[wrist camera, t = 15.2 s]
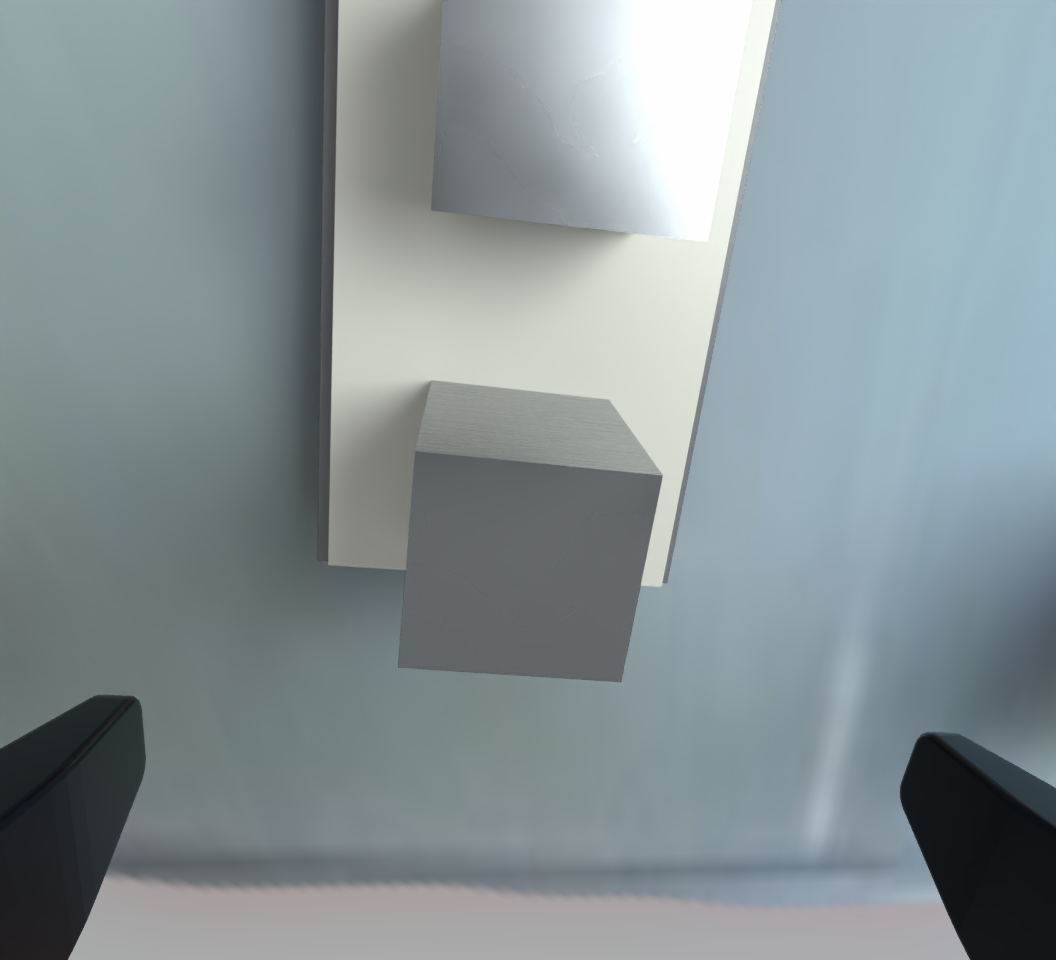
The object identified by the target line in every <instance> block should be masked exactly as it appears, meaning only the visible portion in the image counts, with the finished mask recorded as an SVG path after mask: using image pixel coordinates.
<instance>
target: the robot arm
mask: <svg viewBox="0 0 1056 960" xmlns="http://www.w3.org/2000/svg"><path fill="white" fill-rule="evenodd" d="M145 762H146V755H145V743H144V731H143V719H142V709H141V705H140V702H139V700H138V699H136V698H135V697H134V696H122V695H97V696H94V697H92V698H90V699H88V700H86V701H84V702H83V703H81V704H79V705H77V706H75V707H74V708H72V709H70V710H68V711H67V712H65V713H63V714H61V715H59V716H58V717H56V718H54V719H52V720H51V721H49V722H47V723H45V724H43V725H42V726H40V727H38V728H36V729H35V730H33V731H31V732H29V733H28V734H26V735H24V736H22V737H20V738H19V739H17V740H15V741H13V742H12V743H10V744H8V745H6V746H4V747H3V748H1V749H0V960H68V958H69V956H70V954H71V952H72V950H73V948H74V946H75V944H76V942H77V940H78V938H79V936H80V934H81V932H82V930H83V928H84V926H85V923H86V921H87V919H88V916H89V914H90V912H91V909H92V907H93V904H94V902H95V900H96V897H97V894H98V892H99V889H100V887H101V884H102V882H103V879H104V877H105V874H106V871H107V869H108V866H109V864H110V861H111V859H112V856H113V853H114V851H115V848H116V846H117V843H118V841H119V838H120V835H121V833H122V830H123V828H124V825H125V823H126V820H127V817H128V815H129V812H130V810H131V807H132V805H133V802H134V799H135V797H136V794H137V792H138V789H139V787H140V784H141V781H142V778H143V774H144V770H145ZM900 798H901V803H902V807H903V810H904V812H905V814H906V817H907V819H908V821H909V824H910V826H911V828H912V831H913V833H914V835H915V838H916V840H917V842H918V845H919V847H920V849H921V852H922V854H923V856H924V859H925V861H926V864H927V866H928V868H929V871H930V873H931V875H932V878H933V880H934V882H935V885H936V887H937V889H938V892H939V894H940V896H941V899H942V901H943V903H944V906H945V908H946V910H947V913H948V915H949V917H950V919H951V922H952V924H953V926H954V928H955V930H956V932H957V935H958V937H959V939H960V941H961V943H962V945H963V947H964V949H965V951H966V952H967V955H968V957H969V958H970V960H1056V788H1055V787H1053V786H1051V785H1049V784H1048V783H1046V782H1044V781H1042V780H1040V779H1039V778H1037V777H1035V776H1033V775H1032V774H1030V773H1028V772H1026V771H1024V770H1023V769H1021V768H1019V767H1017V766H1015V765H1014V764H1012V763H1010V762H1008V761H1007V760H1005V759H1003V758H1001V757H999V756H998V755H996V754H994V753H992V752H990V751H989V750H987V749H985V748H983V747H982V746H980V745H978V744H976V743H974V742H973V741H971V740H969V739H967V738H965V737H964V736H962V735H959V734H955V733H942V732H926V733H923V734H922V735H921V736H920V737H919V738H918V739H917V741H916V743H915V746H914V749H913V751H912V754H911V757H910V760H909V762H908V765H907V768H906V771H905V774H904V776H903V779H902V782H901V786H900Z"/></svg>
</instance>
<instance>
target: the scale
mask: <svg viewBox="0 0 1056 960" xmlns="http://www.w3.org/2000/svg"><path fill="white" fill-rule="evenodd" d="M781 3H782V0H752V1H751V6H750V12H749V17H748V23H747V28H746V34H745V39H744V45H743V50H742V56H741V61H740V67H739V72H738V77H737V83H736V88H735V94H734V99H733V105H732V110H731V116H730V121H729V127H728V132H727V138H726V143H725V149H724V154H723V160H722V165H721V170H720V176H719V181H718V187H717V192H716V198H715V203H714V209H713V214H712V220H711V225H710V231H709V236H708V242H704V241H695V240H686V239H677V238H669V237H660V236H651V235H642V234H633V233H625V232H616V231H607V230H598V229H590V228H581V227H572V226H563V225H554V224H546V223H537V222H528V221H519V220H510V219H502V218H493V217H484V216H475V215H466V214H458V213H449V212H440V211H431V200H432V183H433V166H434V149H435V132H436V114H437V97H438V80H439V63H440V46H441V29H442V12H443V0H325V36H324V111H323V187H322V262H321V338H320V413H319V489H318V560H320V561H328V565H331V566H346V567H361V568H377V569H392V570H406V559H407V546H408V534H409V521H410V508H411V496H412V483H413V471H414V458H415V449H416V445H417V441H418V436H419V432H420V428H421V424H422V419H423V415H424V411H425V406H426V402H427V398H428V394H429V389H430V385H431V381H432V380H434V381H444V382H453V383H462V384H471V385H480V386H489V387H498V388H508V389H517V390H526V391H535V392H544V393H553V394H562V395H572V396H581V397H590V398H599V399H608V400H610V402H611V403H612V404H613V406H614V407H615V409H616V410H617V411H618V413H619V414H620V416H621V417H622V418H623V420H624V421H625V423H626V424H627V425H628V427H629V428H630V430H631V431H632V432H633V434H634V435H635V437H636V438H637V440H638V441H639V442H640V444H641V445H642V447H643V448H644V449H645V451H646V452H647V454H648V455H649V456H650V458H651V459H652V461H653V462H654V463H655V465H656V466H657V468H658V469H659V470H660V472H661V473H662V475H663V478H662V483H661V488H660V493H659V498H658V503H657V508H656V513H655V518H654V523H653V527H652V532H651V537H650V542H649V547H648V552H647V557H646V562H645V567H644V572H643V577H642V582H641V586H654V587H662V583H667V581H668V576H669V571H670V566H671V561H672V556H673V551H674V545H675V540H676V535H677V530H678V525H679V520H680V515H681V510H682V505H683V500H684V495H685V490H686V485H687V480H688V475H689V469H690V464H691V459H692V454H693V449H694V444H695V439H696V434H697V429H698V424H699V419H700V414H701V409H702V404H703V398H704V393H705V388H706V383H707V378H708V373H709V368H710V363H711V358H712V353H713V348H714V343H715V338H716V333H717V328H718V322H719V317H720V312H721V307H722V302H723V297H724V292H725V287H726V282H727V277H728V272H729V267H730V262H731V257H732V252H733V246H734V241H735V236H736V231H737V226H738V221H739V216H740V211H741V206H742V201H743V196H744V191H745V186H746V181H747V176H748V170H749V165H750V160H751V155H752V150H753V145H754V140H755V135H756V130H757V125H758V120H759V115H760V110H761V105H762V99H763V94H764V89H765V84H766V79H767V74H768V69H769V64H770V59H771V54H772V49H773V44H774V39H775V34H776V29H777V23H778V18H779V13H780V8H781Z"/></svg>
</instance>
